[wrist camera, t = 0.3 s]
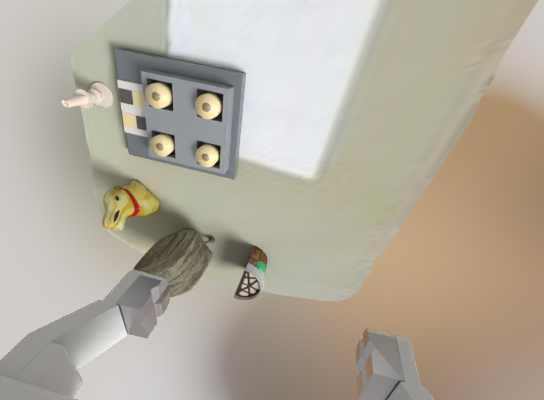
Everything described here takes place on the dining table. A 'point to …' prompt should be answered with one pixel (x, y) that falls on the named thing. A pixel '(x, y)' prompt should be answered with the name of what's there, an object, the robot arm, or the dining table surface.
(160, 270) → the tabletop clock
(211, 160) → the button
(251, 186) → the dining table surface
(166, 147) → the button
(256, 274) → the food container
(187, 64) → the board
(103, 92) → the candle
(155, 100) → the button
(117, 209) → the chocolate bunny
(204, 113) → the button
